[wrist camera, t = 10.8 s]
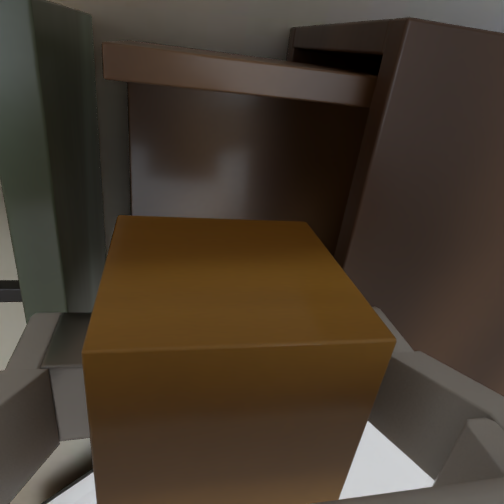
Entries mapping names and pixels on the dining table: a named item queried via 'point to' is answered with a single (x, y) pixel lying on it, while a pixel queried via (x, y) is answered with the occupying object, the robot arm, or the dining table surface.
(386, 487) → the plate
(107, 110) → the dining table surface
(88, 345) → the block
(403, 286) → the cabinet
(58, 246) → the drawer
